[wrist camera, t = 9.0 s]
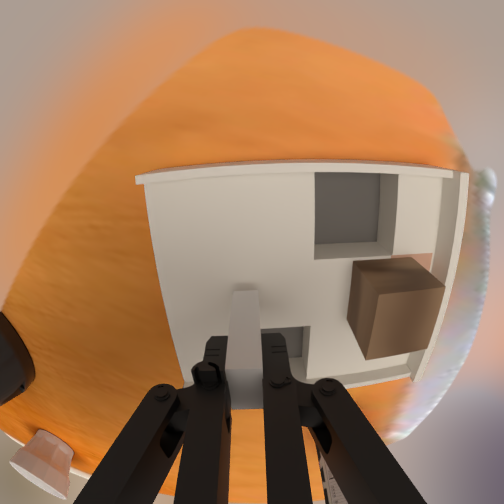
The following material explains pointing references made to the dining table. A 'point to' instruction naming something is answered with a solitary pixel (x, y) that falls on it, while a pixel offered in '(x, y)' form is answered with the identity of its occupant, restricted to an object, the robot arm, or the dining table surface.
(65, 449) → the cup
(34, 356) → the dining table surface
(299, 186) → the tray
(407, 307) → the block
